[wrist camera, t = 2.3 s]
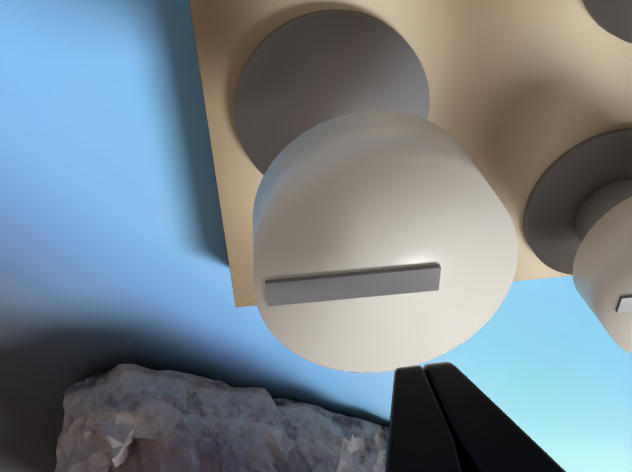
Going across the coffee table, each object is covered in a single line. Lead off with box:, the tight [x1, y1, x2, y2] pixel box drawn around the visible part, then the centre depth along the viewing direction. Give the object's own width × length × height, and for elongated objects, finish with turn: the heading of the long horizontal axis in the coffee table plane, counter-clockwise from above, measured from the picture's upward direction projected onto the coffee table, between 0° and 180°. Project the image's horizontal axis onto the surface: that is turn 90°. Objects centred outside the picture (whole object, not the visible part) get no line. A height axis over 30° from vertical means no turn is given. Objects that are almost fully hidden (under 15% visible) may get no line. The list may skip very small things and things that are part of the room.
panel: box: [189, 0, 632, 307], centre depth 17 cm, size 16×16×2 cm
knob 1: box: [252, 110, 518, 373], centre depth 12 cm, size 5×5×4 cm
